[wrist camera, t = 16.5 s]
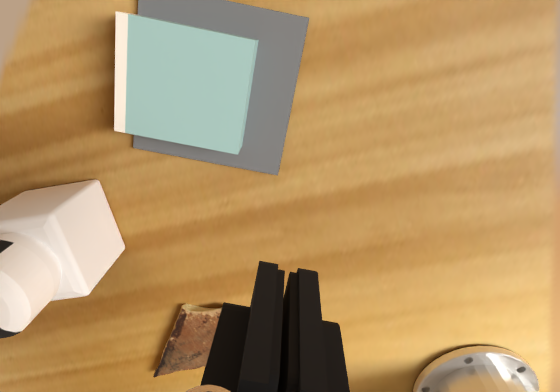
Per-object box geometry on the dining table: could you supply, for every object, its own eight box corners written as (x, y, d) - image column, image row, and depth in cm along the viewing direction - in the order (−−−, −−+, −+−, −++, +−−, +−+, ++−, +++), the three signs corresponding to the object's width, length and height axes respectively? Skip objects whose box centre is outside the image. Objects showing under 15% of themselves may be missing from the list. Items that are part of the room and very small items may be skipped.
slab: (255, 40, 25) (115, 11, 24) (237, 154, 28) (113, 130, 27) (258, 39, 27) (131, 13, 27) (242, 145, 30) (127, 123, 30)
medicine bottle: (56, 258, 36) (-50, 358, 25) (23, 189, 33) (-113, 268, 22) (127, 248, 35) (50, 346, 24) (99, 177, 32) (-2, 251, 21)
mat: (308, 18, 27) (309, 18, 26) (277, 173, 31) (277, 175, 31) (141, -17, 26) (138, -18, 26) (135, 146, 31) (133, 147, 30)
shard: (158, 366, 41) (152, 380, 40) (126, 313, 39) (119, 326, 37) (250, 346, 40) (248, 360, 38) (224, 289, 37) (220, 301, 35)
